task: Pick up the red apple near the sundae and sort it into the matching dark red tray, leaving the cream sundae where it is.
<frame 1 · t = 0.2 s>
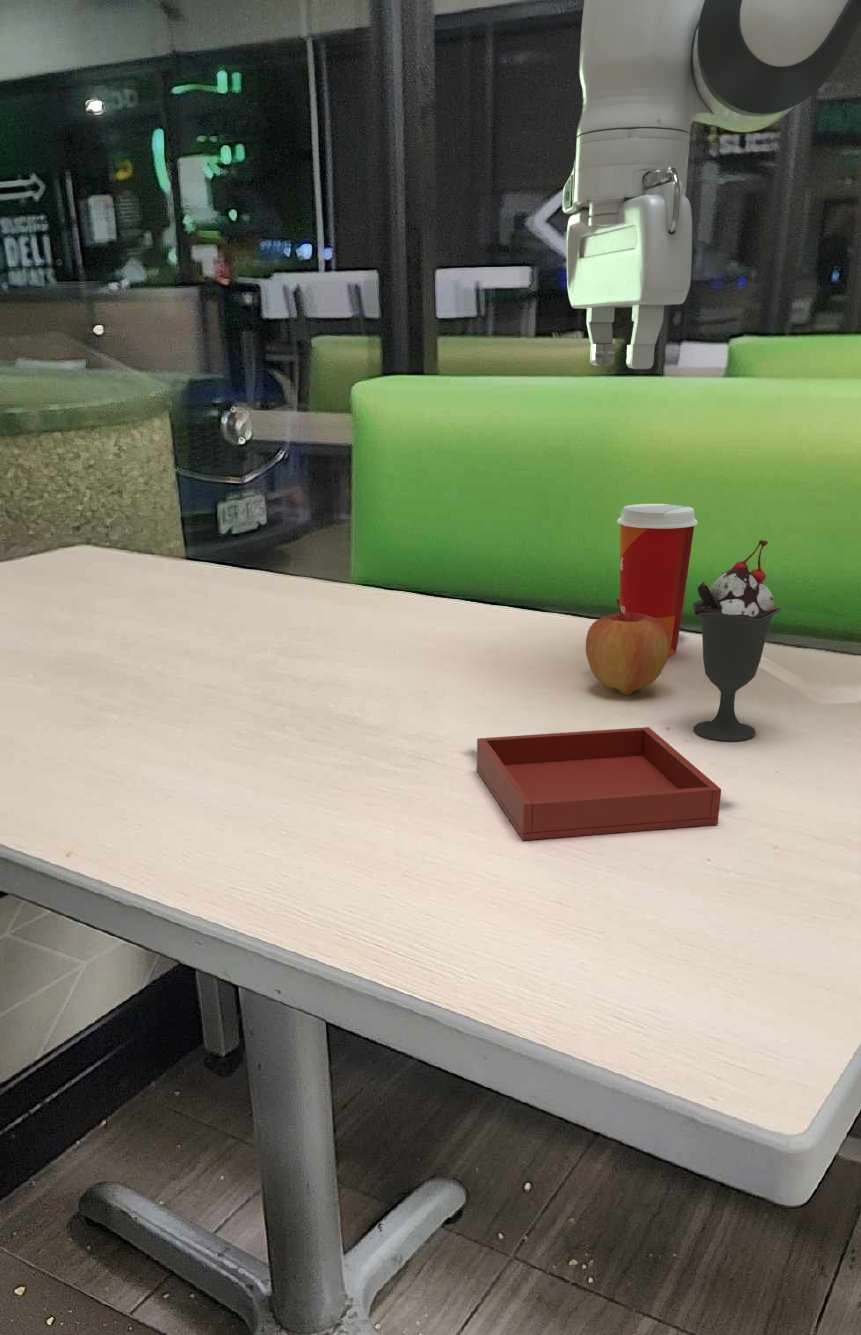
hand: (619, 367, 98), 27 cm above the table, tool pointing down, fingers open, 8 cm apart
apple: (624, 693, 105), on the table
sundae: (724, 733, 94), on the table
red tray: (590, 796, 81), on the table
paper cup: (647, 653, 117), on the table
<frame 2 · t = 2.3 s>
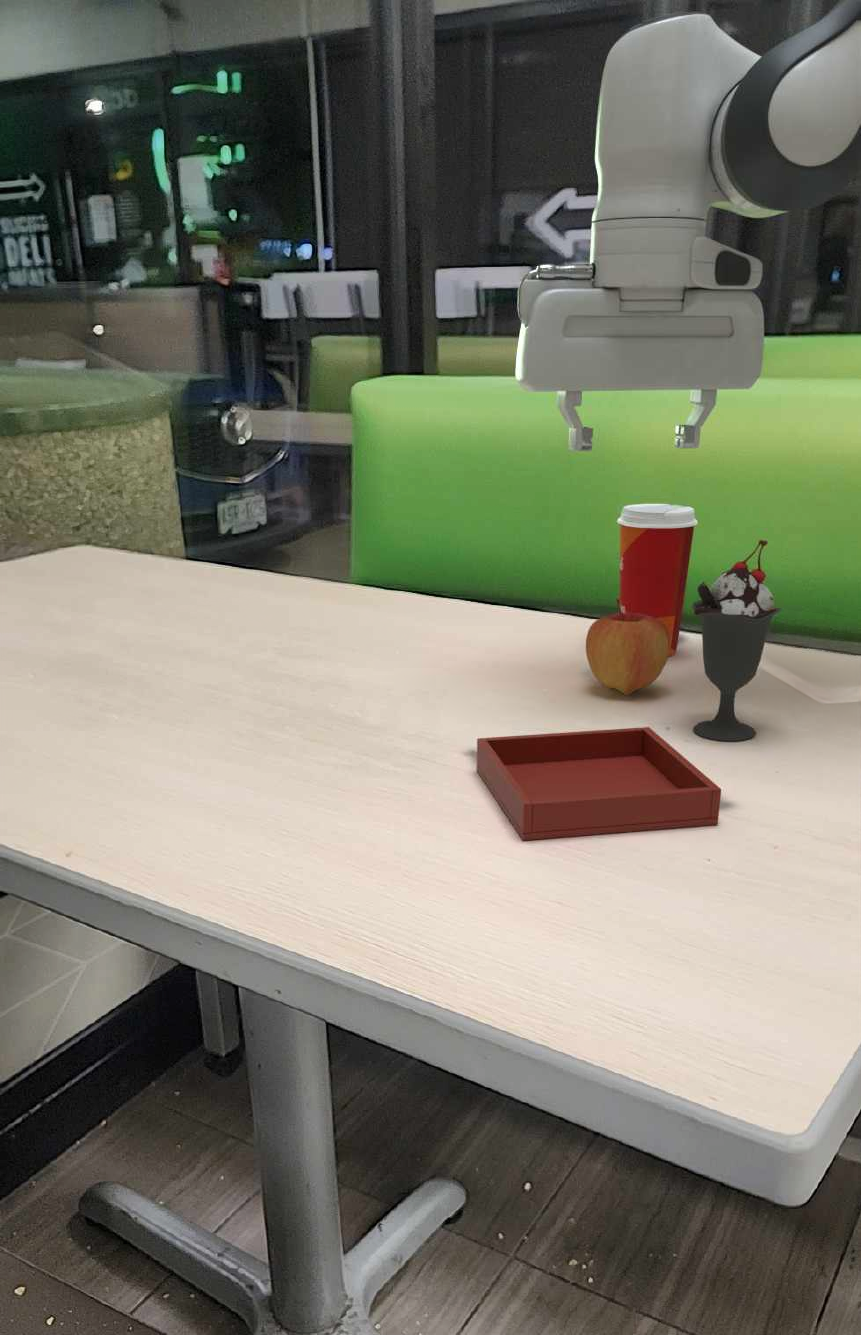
hand: (633, 449, 97), 21 cm above the table, tool pointing down, fingers open, 8 cm apart
nothing on the table moved.
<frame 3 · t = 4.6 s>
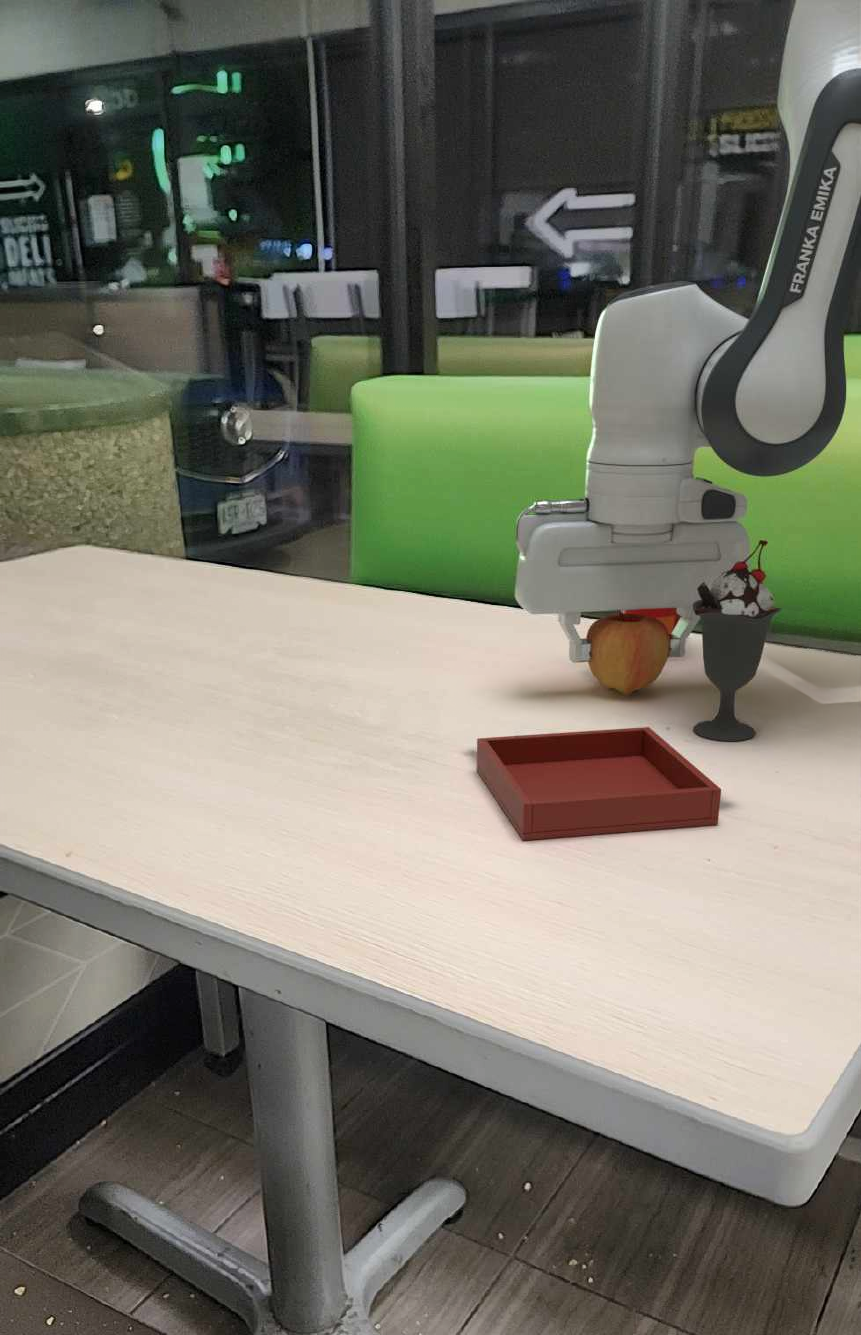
hand: (627, 658, 103), 3 cm above the table, tool pointing down, fingers closed on apple, 7 cm apart
apple: (624, 693, 105), on the table, touching gripper
everything else where it was.
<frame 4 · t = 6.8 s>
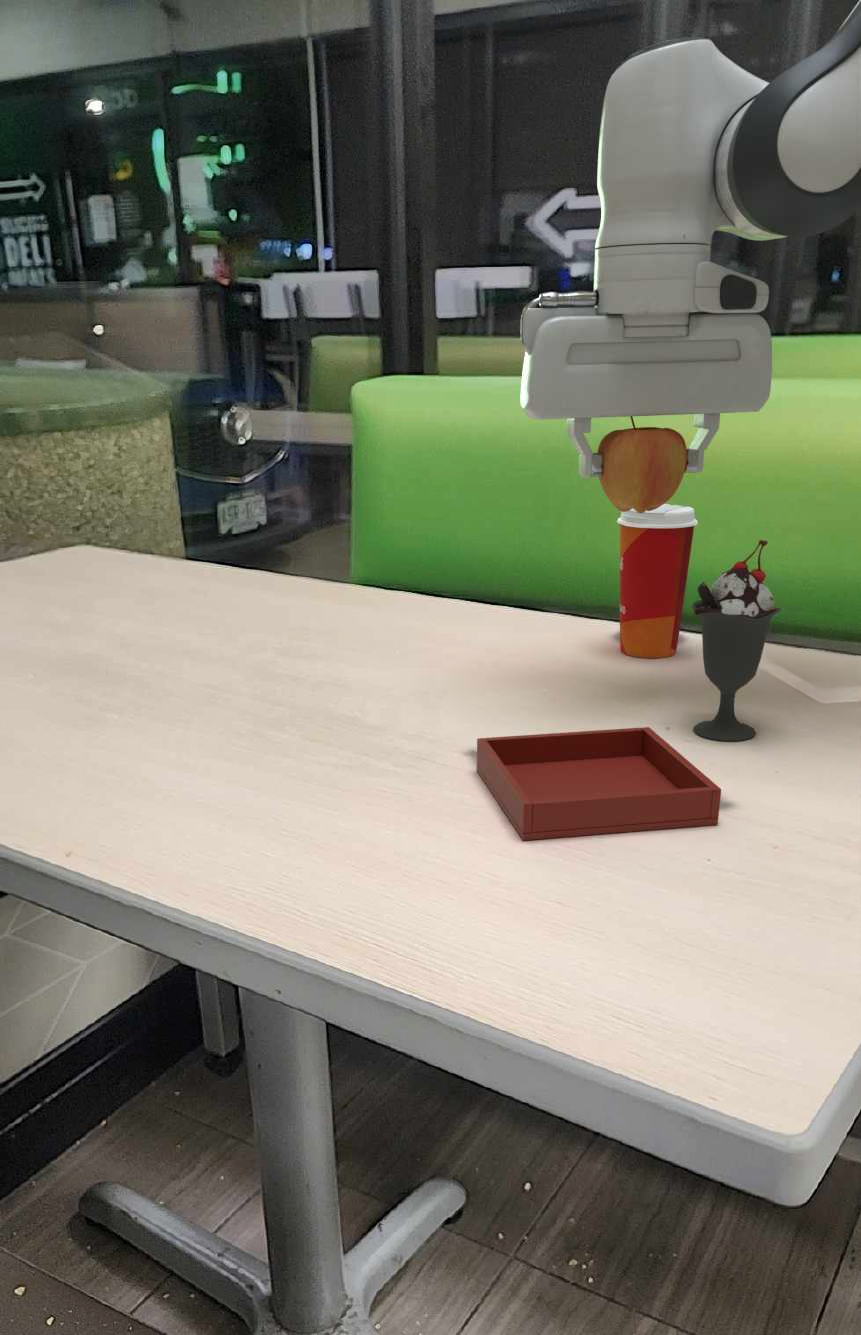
hand: (641, 474, 96), 19 cm above the table, tool pointing down, fingers closed on apple, 7 cm apart
apple: (638, 514, 98), point 15 cm above the table, touching gripper
everything else where it was.
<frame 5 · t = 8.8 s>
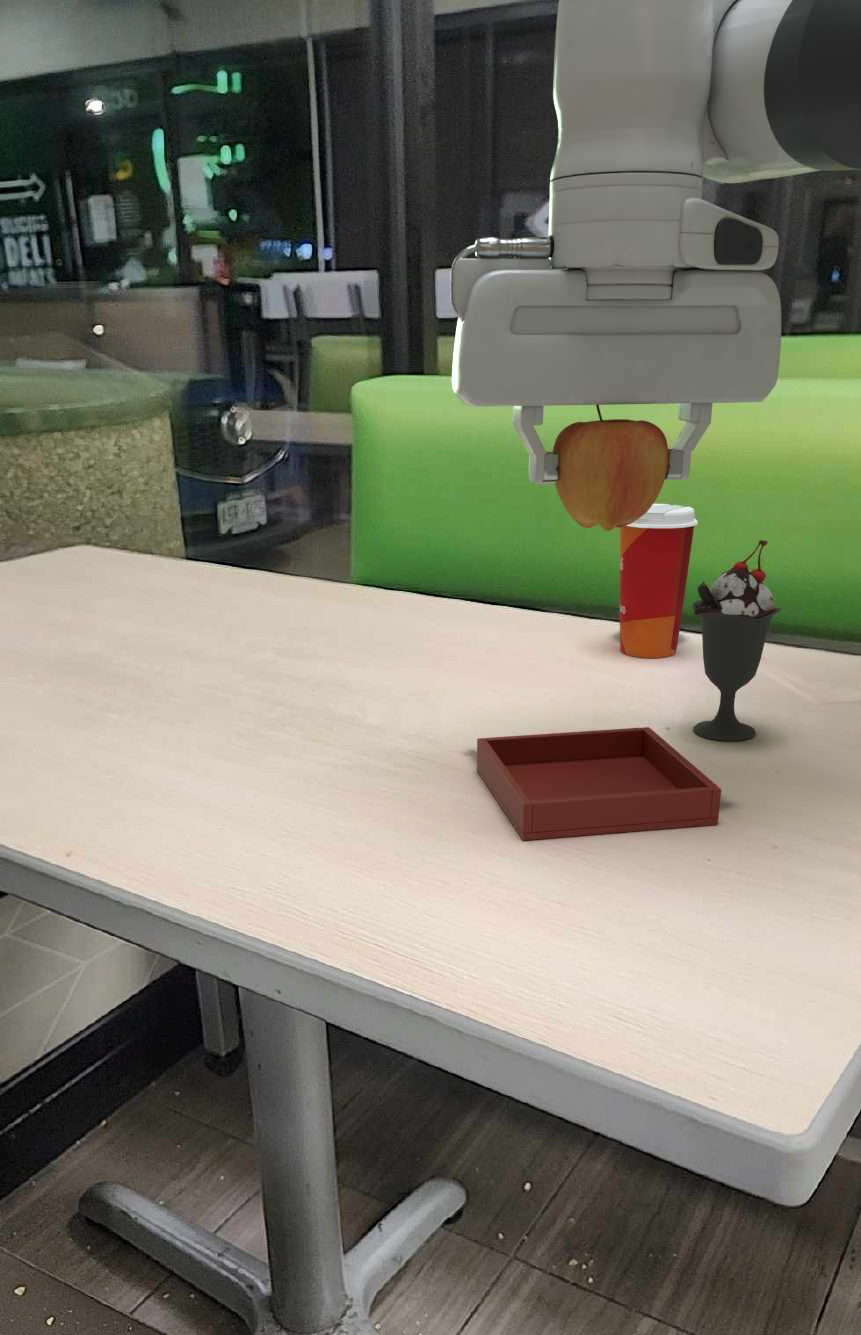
hand: (609, 481, 75), 21 cm above the table, tool pointing down, fingers closed on apple, 7 cm apart
apple: (605, 532, 76), point 18 cm above the table, touching gripper
everything else where it was.
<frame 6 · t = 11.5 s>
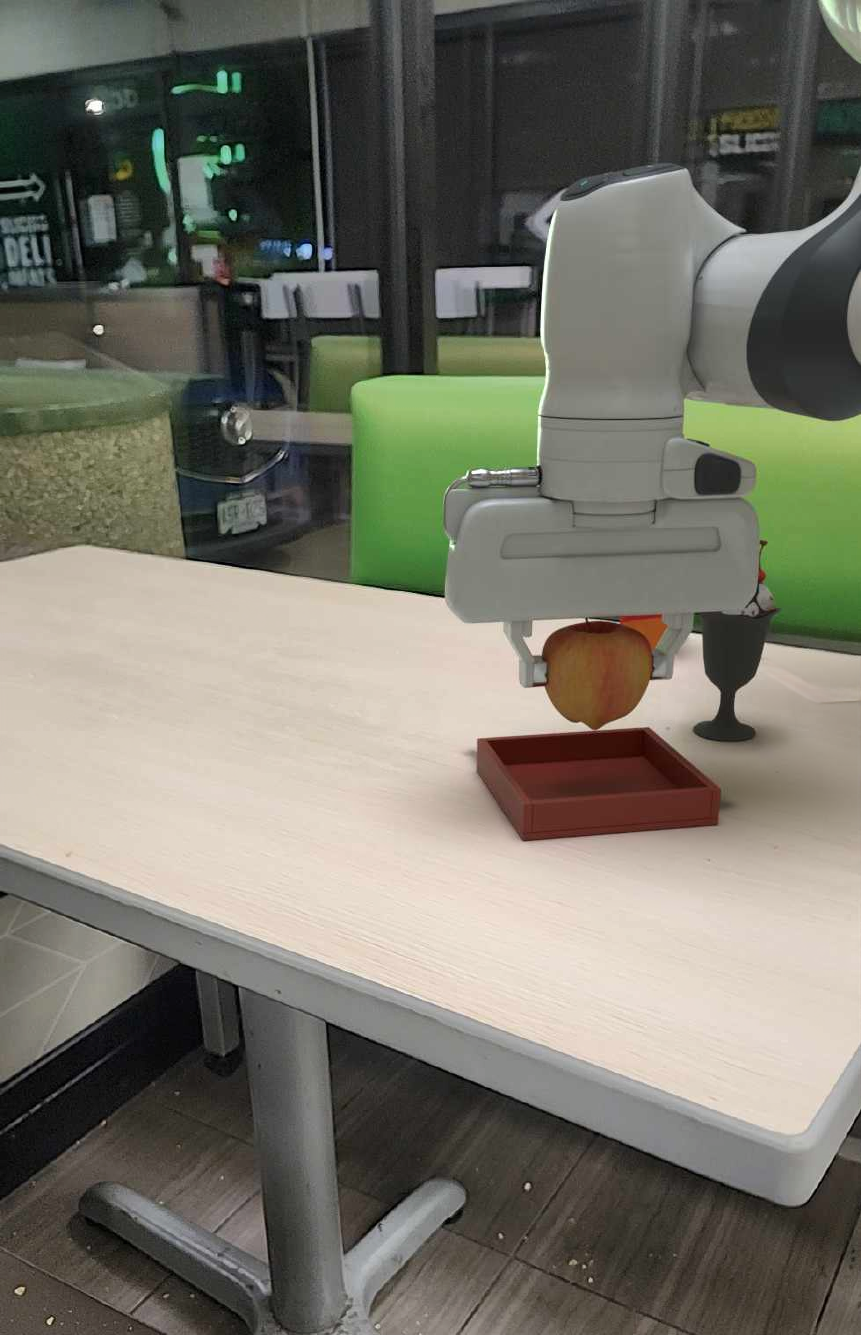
hand: (596, 681, 78), 8 cm above the table, tool pointing down, fingers closed on apple, 7 cm apart
apple: (592, 727, 79), point 5 cm above the table, touching gripper
everything else where it was.
when the fingers open (3 cm above the table, at t = 13.4 s): apple stays where it is, resting on red tray.
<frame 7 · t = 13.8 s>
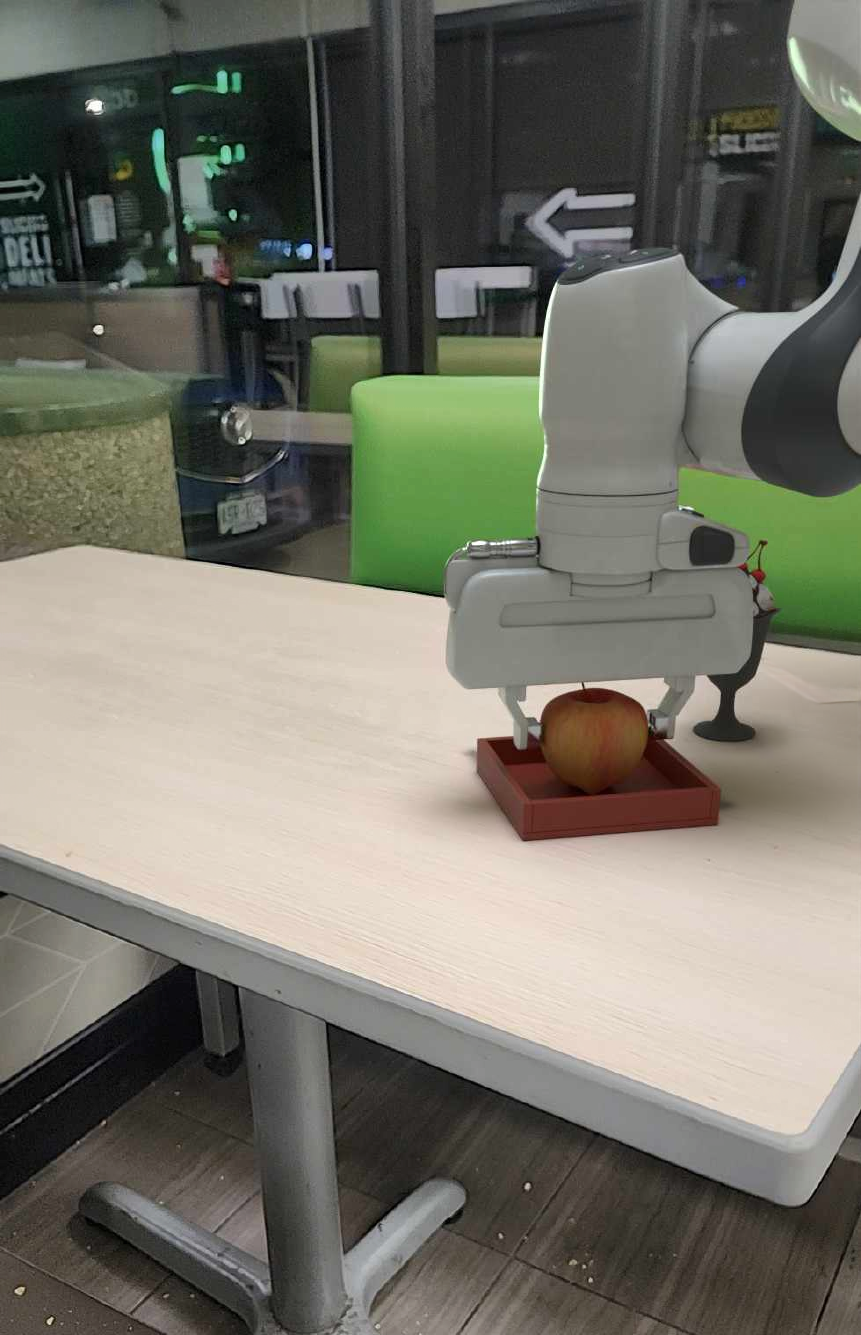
hand: (593, 742, 79), 4 cm above the table, tool pointing down, fingers open, 8 cm apart
apple: (590, 791, 81), resting on red tray
everything else where it was.
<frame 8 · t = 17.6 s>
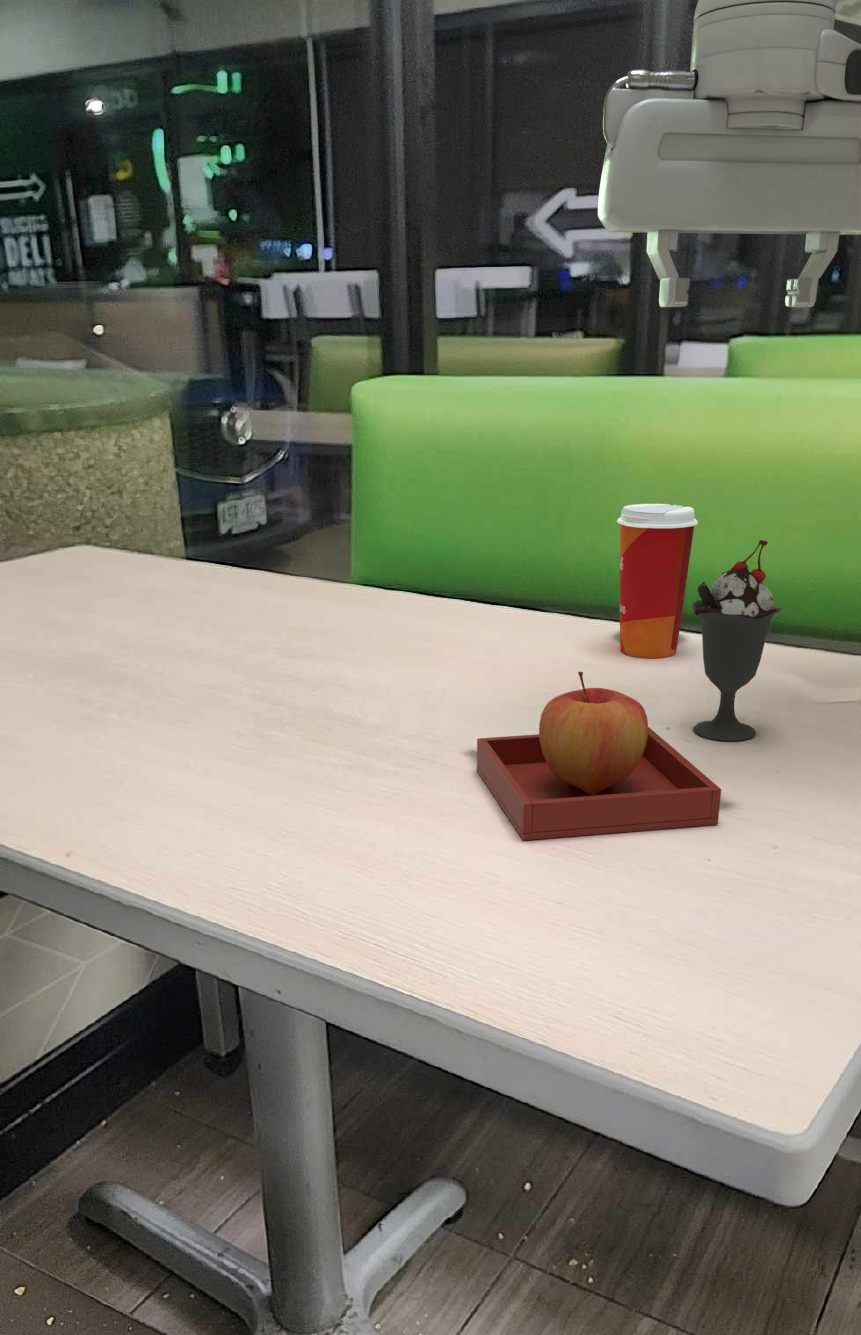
hand: (736, 307, 81), 31 cm above the table, tool pointing down, fingers open, 8 cm apart
nothing on the table moved.
at the end: apple inside the target area in the red tray (0.1 cm from its centre), point 0.3 cm above the red tray's base; the gripper is holding nothing; sundae moved 0.2 cm from its start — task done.
